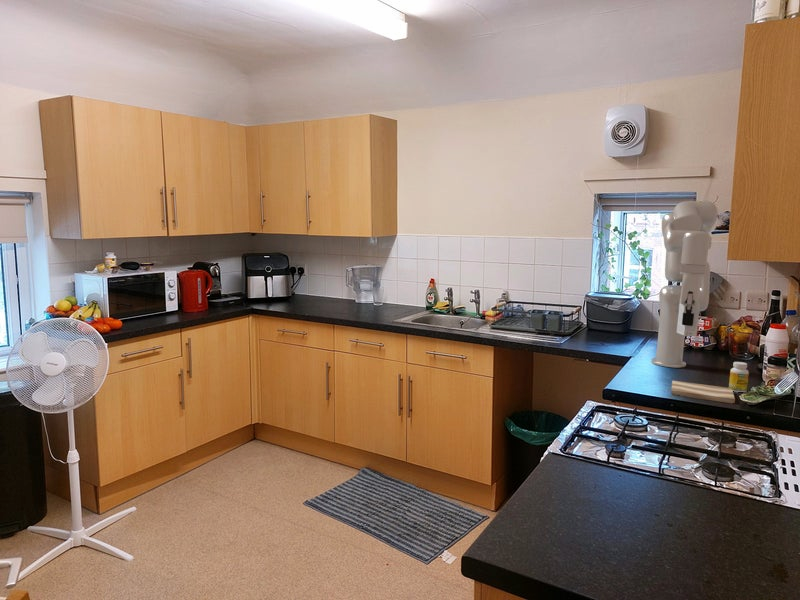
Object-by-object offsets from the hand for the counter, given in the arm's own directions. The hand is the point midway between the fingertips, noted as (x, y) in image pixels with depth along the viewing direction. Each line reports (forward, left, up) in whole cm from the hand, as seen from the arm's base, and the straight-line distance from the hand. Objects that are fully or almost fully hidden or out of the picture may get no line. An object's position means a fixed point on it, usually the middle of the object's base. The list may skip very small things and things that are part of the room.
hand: (687, 323), depth 194 cm
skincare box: (0, 0, -4) cm, 4 cm away
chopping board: (+1, +6, -23) cm, 23 cm away
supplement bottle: (-10, +17, -23) cm, 30 cm away
